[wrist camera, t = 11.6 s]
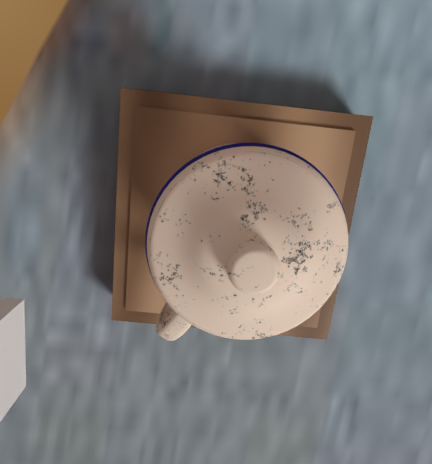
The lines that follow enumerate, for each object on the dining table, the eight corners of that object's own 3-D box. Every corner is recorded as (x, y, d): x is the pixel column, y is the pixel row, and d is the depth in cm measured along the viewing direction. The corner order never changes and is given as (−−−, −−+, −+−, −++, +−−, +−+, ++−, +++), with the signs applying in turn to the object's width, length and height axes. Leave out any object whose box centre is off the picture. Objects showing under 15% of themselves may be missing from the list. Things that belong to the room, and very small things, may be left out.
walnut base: (121, 301, 30) (110, 321, 27) (130, 92, 26) (119, 87, 23) (316, 319, 31) (328, 341, 28) (355, 118, 27) (374, 116, 23)
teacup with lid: (220, 109, 23) (228, 87, 12) (331, 194, 25) (431, 245, 13) (117, 257, 26) (44, 355, 14) (224, 326, 27) (233, 464, 16)
